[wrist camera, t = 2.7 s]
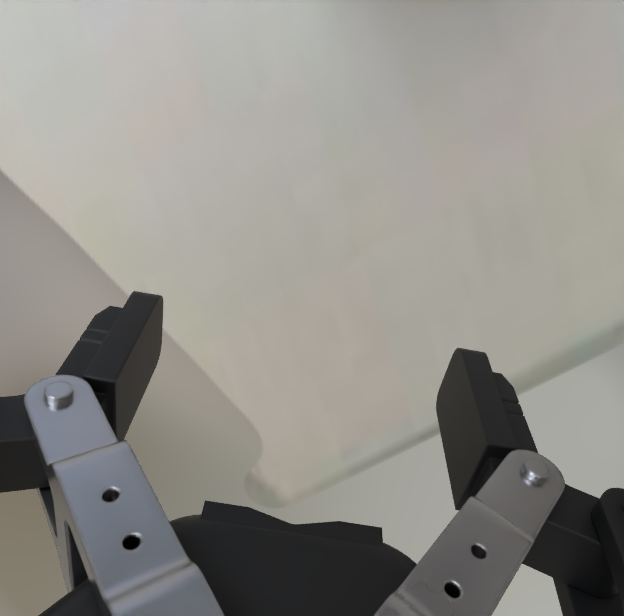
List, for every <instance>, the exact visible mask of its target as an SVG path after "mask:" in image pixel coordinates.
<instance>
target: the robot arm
mask: <svg viewBox="0 0 624 616" xmlns="http://www.w3.org/2000/svg"><path fill="white" fill-rule="evenodd" d="M162 322H163V297H162V296H160V295H154V294H148V293H142V292H137V291H134V292H132V294H131V295H130V297H129V299H128V300H127V302H126V304H125V306H124V307H123V308H119V307H113V306H109V307H108V308H106V309H105V310H103V311H101V312H100V313H98V314H97V315H95V316H94V318H93V319H92V321H91V322H90V324H89V325H88V327H87V330H85V331H84V333H83V334H82V336H81V338H80V341H78V342H77V343H76V345H75V347H74V348H73V349H72V351H71V352H70V354H69V355H68V357H67V358H66V360H65V361H64V363H63V364H62V366H61V367H60V369H59V370H58V372H57V373H56V375H55V376H50V377H47V378H44V379H41V380H40V381H38V382H36V383H34V384H33V385H32V386H31V387H30V388H29V389H28V390H27V392H26V394H23V395H19V396H9V397H0V493H1V492H10V491H18V490H26V489H35V488H36V489H37V492H38V495H39V498H40V501H41V504H42V507H43V510H44V513H45V516H46V519H47V522H48V525H49V528H50V531H51V534H52V537H53V539H54V543H55V546H56V549H57V552H58V556H59V560H60V565H61V569H62V573H63V577H64V581H65V585H66V588H67V591H68V594H67V595H65V596H64V597H63V598H61V599H60V600H59V601H57V602H56V603H55V604H53V605H52V606H51V607H50V608H48V609H47V610H46V611H44V612H43V613H41V614H40V615H39V616H491V615H492V613H493V612H494V610H495V608H496V607H497V605H498V603H499V601H500V600H501V598H502V596H503V595H504V593H505V591H506V589H507V588H508V586H509V584H510V583H511V581H512V579H513V577H514V576H515V574H516V572H517V571H518V569H519V567H520V565H521V564H525V565H527V566H529V567H532V568H533V569H536V570H538V571H540V572H542V573H544V574H547V575H549V576H551V577H553V580H554V584H555V587H556V591H557V595H558V598H559V602H560V606H561V610H562V613H563V616H624V489H621V488H611V489H608V490H606V491H605V492H604V493H603V494H602V496H601V498H600V499H599V498H597V497H594V496H592V495H589V494H587V493H584V492H582V491H580V490H577V489H575V488H572V487H570V486H568V485H567V484H565V481H564V478H563V475H562V474H561V472H560V471H559V469H558V468H557V467H556V466H555V465H554V464H553V463H552V462H551V461H550V460H548V459H547V458H545V457H544V456H542V455H540V454H538V451H537V449H536V446H535V443H534V441H533V438H532V436H531V433H530V430H529V427H528V425H527V422H526V420H525V417H524V416H523V412H522V409H521V406H520V404H518V402H519V401H518V398H517V396H516V393H515V390H514V388H513V386H512V385H511V384H510V383H509V382H508V381H507V380H506V378H505V377H504V376H503V375H502V374H500V373H494V372H492V369H491V366H490V363H489V360H488V357H487V355H486V353H484V352H479V351H473V350H468V349H462V348H457V349H456V350H455V351H454V353H453V356H452V358H451V361H450V363H449V366H448V368H447V371H446V373H445V376H444V378H443V381H442V383H441V386H440V389H439V392H438V396H437V402H436V411H437V417H438V422H439V427H440V432H441V437H442V442H443V448H444V453H445V458H446V463H447V468H448V473H449V478H450V483H451V489H452V494H453V499H454V504H455V509H456V510H459V512H458V513H457V514H456V515H455V517H454V518H453V519H452V520H451V522H450V523H449V524H448V526H447V527H446V528H445V529H444V531H443V532H442V533H441V534H440V536H439V537H438V538H437V540H436V541H435V542H434V543H433V545H432V546H431V547H430V549H429V550H428V551H427V552H426V554H425V555H424V556H423V558H422V559H421V560H420V561H419V563H418V564H416V563H415V562H414V561H412V560H411V559H410V558H409V557H408V556H406V555H405V554H403V553H402V552H400V551H399V550H397V549H395V548H393V547H391V546H390V545H387V544H385V543H383V539H382V528H379V527H373V526H367V525H360V524H353V523H347V522H341V521H336V522H324V523H311V524H298V525H297V524H295V525H294V524H290V523H287V522H285V521H282V520H280V519H277V518H275V517H272V516H270V515H267V514H265V513H262V512H259V511H257V510H254V509H252V508H249V507H243V506H236V505H230V504H224V503H217V502H211V501H205V503H204V507H203V511H202V514H201V515H192V516H186V517H182V518H179V519H175V520H172V521H170V522H169V520H168V518H167V516H166V514H165V512H164V510H163V508H162V506H161V505H160V503H159V501H158V499H157V497H156V495H155V493H154V491H153V489H152V487H151V485H150V483H149V481H148V479H147V477H146V475H145V474H144V471H143V470H142V468H141V466H140V464H139V462H138V460H137V458H136V456H135V454H134V452H133V450H132V448H131V446H130V445H129V443H128V442H127V441H126V440H124V438H125V435H126V433H127V431H128V429H129V426H130V424H131V422H132V420H133V417H134V415H135V413H136V410H137V408H138V406H139V404H140V401H141V399H142V397H143V395H144V393H145V390H146V388H147V386H148V384H149V381H150V379H151V377H152V374H153V372H154V370H155V368H156V365H157V362H158V360H159V356H160V351H161V344H162Z"/></svg>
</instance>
